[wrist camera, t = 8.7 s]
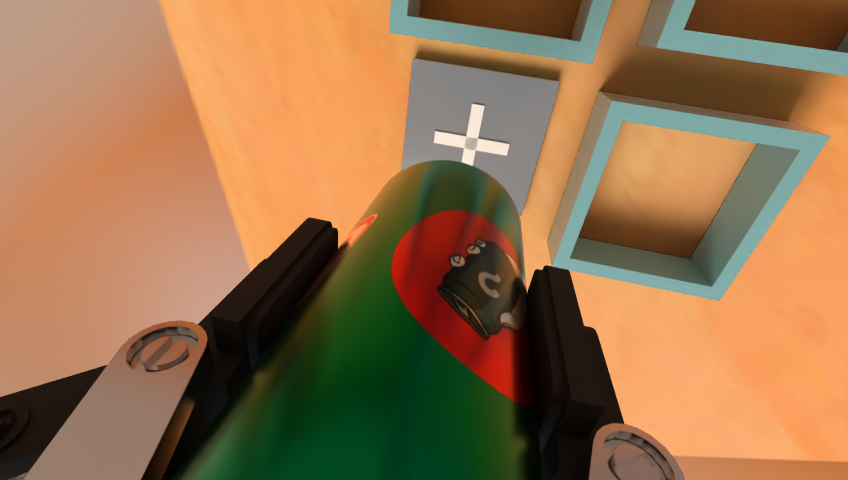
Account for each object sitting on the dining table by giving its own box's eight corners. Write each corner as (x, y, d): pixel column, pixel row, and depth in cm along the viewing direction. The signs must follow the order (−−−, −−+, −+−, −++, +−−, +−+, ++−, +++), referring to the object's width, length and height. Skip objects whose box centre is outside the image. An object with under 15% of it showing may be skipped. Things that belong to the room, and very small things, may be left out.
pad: (558, 80, 21) (560, 82, 20) (521, 211, 25) (521, 216, 24) (415, 57, 21) (412, 58, 21) (401, 188, 26) (398, 192, 25)
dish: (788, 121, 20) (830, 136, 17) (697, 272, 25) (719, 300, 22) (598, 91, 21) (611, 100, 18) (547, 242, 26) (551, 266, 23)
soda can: (375, 146, 12) (-212, 716, 2) (533, 162, 12) (730, 1080, 2) (377, 273, 15) (108, 814, 5) (508, 292, 14) (520, 968, 4)
